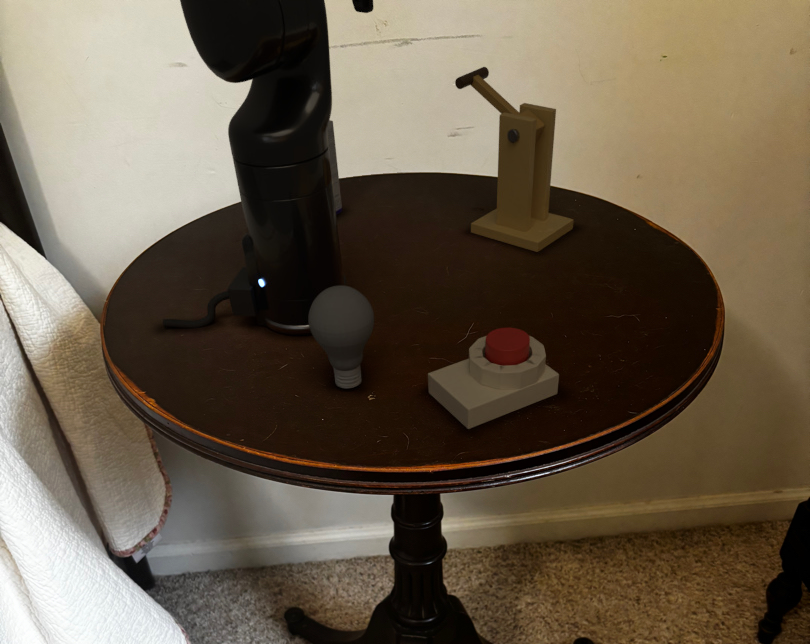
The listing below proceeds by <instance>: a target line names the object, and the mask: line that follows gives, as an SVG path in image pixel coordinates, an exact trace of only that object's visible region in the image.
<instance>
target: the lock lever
mask: <svg viewBox="0 0 810 644" xmlns="http://www.w3.org/2000/svg"><path fill="white" fill-rule="evenodd" d="M489 74H490V70H489V69H488V67H486V66H482V67H480V68H477V69H475V70H472V71H471V72H468V73H466V74H463V75H460V76H458V77H456V78H455V81H454V83H455V87H456V88H457V89H458V90H462V89H465V88H467V87H472V88H473V90H475V91H476V92H477V93H478V94H479V95H480V96H482V98H483V99H484V100H486V101H487V102H488V103H489V104H490V105H491V106H493V108H494V109H496V111H498V112H499V114H502V113H504V112H505V113H510V114H515V115H520V116H525V117H530V118H535V119H537V122H536V138H535V143H536V142H537V140H538V138H539V136H540V134H541V132H542V131H543V129H544V127H545V124H544V123H543V122H542V121H541V120H539V119H538V118H537V117H536V116H535V115H534V114H533V113H532V112H531V111H530V110H526V111H524V112H522V113H519V111H518V110H517V109H516V107H514V106H513V105H512V104H511V103H509V101H508V100H507V99H506V98H504V97H503V96H502V95H501V94H500V93H499V92H498V91H497V90H496V89H494V88H493V86H491V85H490V84H489V83H488V82H487V81H486V80H485V79H487V78H488V77H489V76H490V75H489Z"/></svg>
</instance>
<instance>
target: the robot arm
mask: <svg viewBox="0 0 810 644" xmlns="http://www.w3.org/2000/svg"><path fill="white" fill-rule="evenodd" d="M351 2H352V5H353V9H354V10H355V12H357V13H363V14H368V13H371V12H373V10H374V0H351ZM179 3H180V7H181V10H182V14H183V18H184V21H185V25H186V28H187V30H188V33H189V36H190V38H191V39H190V40H192V43H193V45H194V48H195V49H196V52H197V54H198V55H199V57H200V58H201V60H202V61H203V63H204V65H205V66H206V67H207V68H208V70H210V71H211V73H213V74H214V75H215V76H216V77H217V78H219V79H220V80H223V81H225V82H227V83H232V84H240V83H245V82H248V81H251V83H250V86H249V90H248V92H247V95H246V96H245V99H244V100H243V102H242V103H241V104H240V106H239V108H238V109H237V111H236V112H234V114H233V115H232V116H231V119H230V120H229V123H228V127H227V135H228V142H229V147H230V152H231V156H232V161H233V167H234V173H235V177H236V181H237V187H238V192H239V197H240V203H241V208H242V213H243V217H244V219H243V220H244V223H245V229H246V233H245V234H244V235H243V236H242V238H241V248H242V252H243V253H242V254H243V258H244V263H245V266H242V267H241V269H240V270H239V272H238V273H237V274H236V276H235V278H234V279H233V280H232V281H231V283H230V285H229V286H228V287H227V290H225V291H222V292H219V293H217V294H216V295H213V297H212V298H211V299H210V300H209V301H208V303H207V307H206V310H207V312H206V316H204V317H202V318H200V319H196V320H184V319H176V318H175V319H174V318H163V319H162V324H163V325H162V326H163V327H164V328H180V329H200V328H204V327H207V326H208V325H210V324H211V323H212V322H213V321H214V320H215V319H216V310H217V309H216V307H217V306H218V305H219V304H221V303H222V302H223V301H226V300H229V302H230V307H231V311H232V315H233V316H240V317H255V318H256V323H257V326H264V327H267V328H269V329H271V330H273V331H274V332H277V333H280V334H285V335H286V334H287V335H294V336H295V335H296V336H297V335H298V336H299V335H300V336H301V335H310V334H311V335H312V333H311V330H310V327H309V322H308V316H309V311H310V308H311V305H312V303H313V301H314V300H315V299H316V297H317V296H318V295H319V294H320V293H321V292H322V291H324V290H325V289H327V288H330V287H333V286H348V284H347V276H346V275H345V274H344V272H343V271H344V270H343V263H342V254H341V253H342V252H341V245H340V236H339V235H340V234H339V227H338V219H337V215H336V207H335V198H334V189H333V180H332V172H331V163H330V154H329V145H328V136H327V128H328V123H329V120H331V116H332V109H333V89H332V72H331V56H330V39H329V25H328V14H327V8H326V7H327V6H326V2H325V0H179Z"/></svg>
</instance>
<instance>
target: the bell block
mask: <svg viewBox="0 0 810 644" xmlns="http://www.w3.org/2000/svg"><path fill="white" fill-rule="evenodd" d="M486 336H487V335H484V336H481V337H479V338H477V339H476V340H475V342H474V343H473V344H471V346H470V347H469V348H468V358H466V359H464V360H461V361H458V362H455V363H453V364H449V365H447V366H445V367H441V368H439V369H436V370H433V371H430V372H428V373H427V386H428V387H427V389H428V394H429V395H430V396H431V397H433V398H434V399H435V400H436V402H438V403H439V404H440V405H441V406H442V407H443V408H445V409H446V410H447V411H448V412H449V414H451V415H452V416H453V417H455V419H456V420H457V421H459V422H460V424H462V425H463V426H464V427H465V428H466V429H467V430H470V429H472V428H473V429H474V428H475V427H478V426H480V425H482V424H485V423H488V422H490V421H493V420H495V419H498V418H500V417H503V416H505V415H508V414H510V413H512V412H516V411H518V410H521V409H523V408H526V407H527V406H530V405H533V404H536V403H539V402H540V401H543V400H546V399H548V398H550V397H554V396H555V395H557V394H558V391H559V381H560V374H559V373H558V372H557V371H555V370H554V369H553V368H551V367H550V366H549V365H547V364H546V361H547V354H546V350H545V346H544V344H543V343H541V342H540V341H539V340H537V339H536V338H535V337H533V336H531V335H529V337H530V347H529V357H528V359H527V361H526V362H523V363H520V364H518V365H506V366H501V365H497V364H494V363H490V362H489V361H488V360H487V359H486V357H485V343H486Z"/></svg>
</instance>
